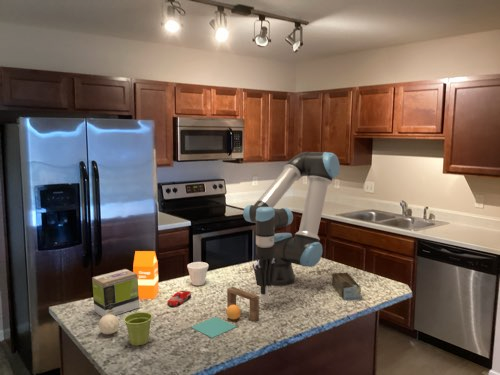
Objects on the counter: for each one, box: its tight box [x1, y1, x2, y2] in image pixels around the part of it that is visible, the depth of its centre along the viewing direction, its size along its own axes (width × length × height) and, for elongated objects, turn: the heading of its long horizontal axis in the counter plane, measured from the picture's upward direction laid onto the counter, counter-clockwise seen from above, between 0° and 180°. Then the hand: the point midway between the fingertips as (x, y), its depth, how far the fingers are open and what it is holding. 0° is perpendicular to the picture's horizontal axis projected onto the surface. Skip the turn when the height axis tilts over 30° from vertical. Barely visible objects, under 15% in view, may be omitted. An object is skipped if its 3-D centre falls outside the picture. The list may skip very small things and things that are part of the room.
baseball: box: [98, 314, 120, 335], centre depth 150 cm, size 7×7×7 cm
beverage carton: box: [331, 272, 362, 301], centre depth 189 cm, size 8×19×7 cm, turn 4°
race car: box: [166, 290, 192, 308], centre depth 179 cm, size 13×5×4 cm, turn 154°
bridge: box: [226, 286, 260, 322], centre depth 166 cm, size 3×14×9 cm, turn 46°
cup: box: [186, 261, 209, 287], centre depth 200 cm, size 10×10×9 cm
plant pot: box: [123, 311, 153, 347], centre depth 144 cm, size 9×9×9 cm
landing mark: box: [190, 316, 238, 339], centre depth 155 cm, size 12×12×1 cm
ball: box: [226, 304, 242, 321], centre depth 162 cm, size 6×6×6 cm
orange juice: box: [132, 250, 160, 300], centre depth 185 cm, size 8×9×20 cm
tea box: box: [91, 268, 140, 318], centre depth 170 cm, size 15×10×15 cm, turn 134°
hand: (265, 300), depth 175 cm, fingers closed
